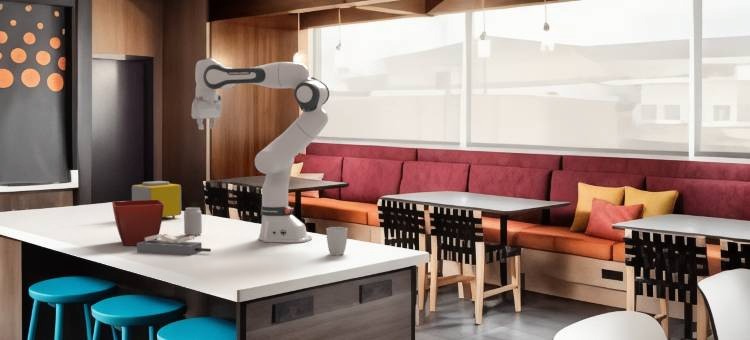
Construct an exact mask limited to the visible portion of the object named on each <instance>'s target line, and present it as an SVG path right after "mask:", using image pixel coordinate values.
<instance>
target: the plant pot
mask: <svg viewBox="0 0 750 340" xmlns="http://www.w3.org/2000/svg"><path fill="white" fill-rule="evenodd" d="M163 209H164V204H163V203H162V202H161V201H160V200H137V201H132V200H121V201H120V200H119V201H112V210H113V214H114V221H115V224H116V228H117V232H118V234H119V237H120V240H121V241H120V242H121V243H122V244H123V246H137V243H139V242H143V241H145V238H146V237H149V236H154V235H158V234H160V231H161V226H162V221H163V217H162V216H163ZM154 240H158V239H154Z"/></svg>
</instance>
